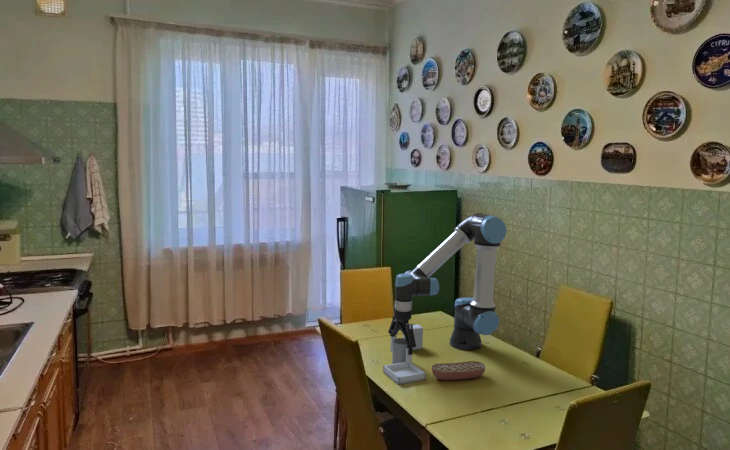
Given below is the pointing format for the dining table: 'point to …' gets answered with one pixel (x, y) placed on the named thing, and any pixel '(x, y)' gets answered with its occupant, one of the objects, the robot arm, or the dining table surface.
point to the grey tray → (404, 372)
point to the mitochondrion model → (458, 370)
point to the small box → (418, 336)
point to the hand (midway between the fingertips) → (400, 356)
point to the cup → (399, 350)
